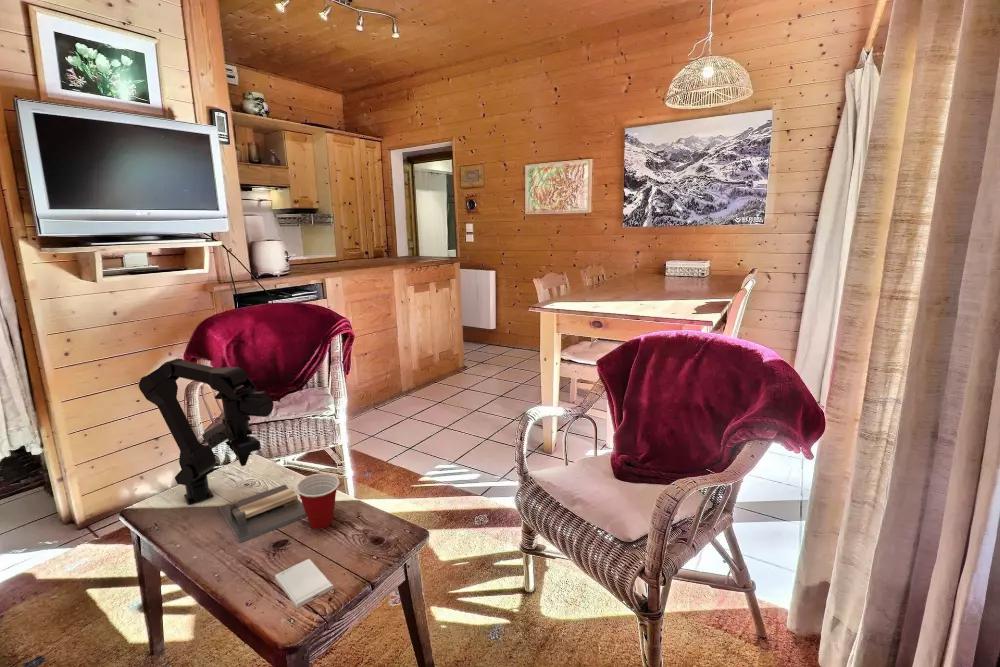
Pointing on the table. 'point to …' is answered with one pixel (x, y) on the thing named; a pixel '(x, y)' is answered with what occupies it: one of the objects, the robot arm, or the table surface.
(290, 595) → the hard drive
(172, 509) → the table surface
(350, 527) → the table surface
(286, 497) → the lever
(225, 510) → the mounting plate
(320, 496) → the plastic cup
